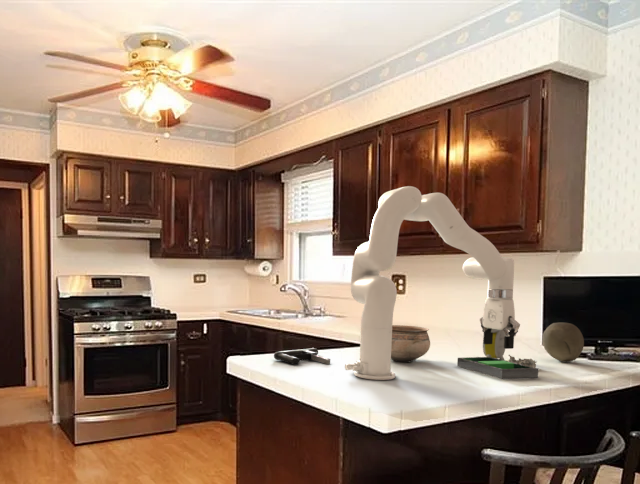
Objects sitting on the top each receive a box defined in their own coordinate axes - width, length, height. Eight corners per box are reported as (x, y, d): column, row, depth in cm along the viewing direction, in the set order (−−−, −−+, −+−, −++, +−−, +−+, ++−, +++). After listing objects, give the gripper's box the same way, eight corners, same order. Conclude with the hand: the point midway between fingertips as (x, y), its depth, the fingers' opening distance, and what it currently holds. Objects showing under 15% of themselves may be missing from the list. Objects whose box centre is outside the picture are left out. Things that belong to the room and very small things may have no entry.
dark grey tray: (501, 380, 167) (502, 369, 167) (457, 367, 188) (457, 357, 188) (537, 379, 170) (538, 368, 170) (490, 366, 191) (490, 356, 191)
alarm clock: (491, 358, 208) (493, 320, 207) (510, 361, 204) (512, 321, 203) (481, 362, 199) (483, 322, 198) (500, 365, 195) (503, 323, 194)
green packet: (488, 373, 175) (488, 363, 175) (477, 370, 180) (478, 361, 180) (513, 372, 178) (514, 363, 178) (502, 369, 183) (503, 360, 182)
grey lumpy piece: (506, 365, 195) (507, 354, 195) (529, 366, 193) (530, 355, 193) (513, 370, 185) (514, 358, 184) (537, 372, 183) (538, 360, 182)
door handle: (342, 355, 192) (311, 346, 205) (300, 360, 180) (270, 350, 193) (341, 364, 192) (310, 355, 205) (299, 370, 181) (269, 359, 194)
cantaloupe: (589, 362, 205) (592, 323, 204) (572, 365, 197) (575, 325, 196) (551, 357, 216) (553, 320, 215) (533, 359, 208) (535, 321, 207)
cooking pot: (400, 354, 215) (401, 323, 214) (443, 361, 200) (445, 328, 199) (360, 359, 199) (361, 326, 198) (405, 368, 184) (406, 332, 183)
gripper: (472, 293, 185) (470, 342, 186) (509, 296, 168) (507, 350, 169) (491, 293, 187) (489, 342, 188) (529, 296, 170) (527, 350, 171)
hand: (497, 346), depth 178 cm, fingers open, 9 cm apart
